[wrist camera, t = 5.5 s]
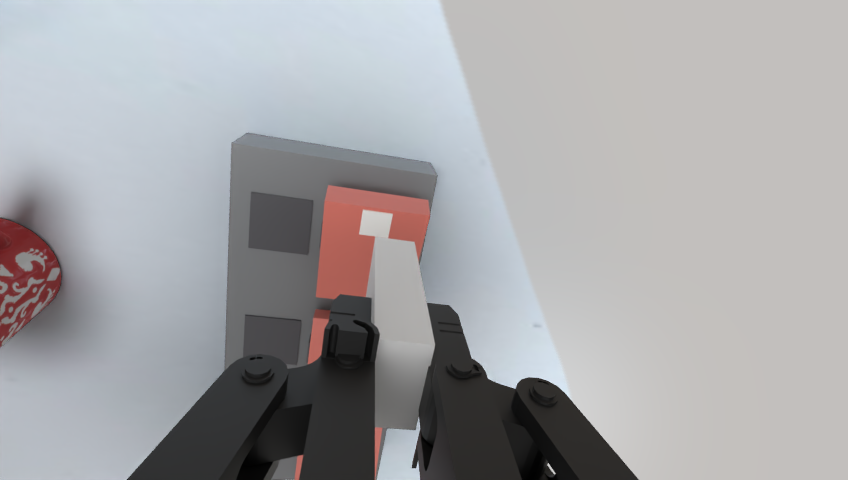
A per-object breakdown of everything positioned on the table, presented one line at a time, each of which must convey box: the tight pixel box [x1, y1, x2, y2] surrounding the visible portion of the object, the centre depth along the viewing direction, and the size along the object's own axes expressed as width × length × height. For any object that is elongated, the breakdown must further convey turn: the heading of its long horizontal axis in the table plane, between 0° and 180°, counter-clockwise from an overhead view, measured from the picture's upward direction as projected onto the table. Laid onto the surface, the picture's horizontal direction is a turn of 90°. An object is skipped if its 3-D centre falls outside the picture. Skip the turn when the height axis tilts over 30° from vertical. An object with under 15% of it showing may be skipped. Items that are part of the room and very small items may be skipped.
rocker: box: [316, 185, 430, 299], centre depth 26 cm, size 6×7×2 cm
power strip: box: [225, 133, 438, 480], centre depth 33 cm, size 12×30×5 cm, turn 169°
